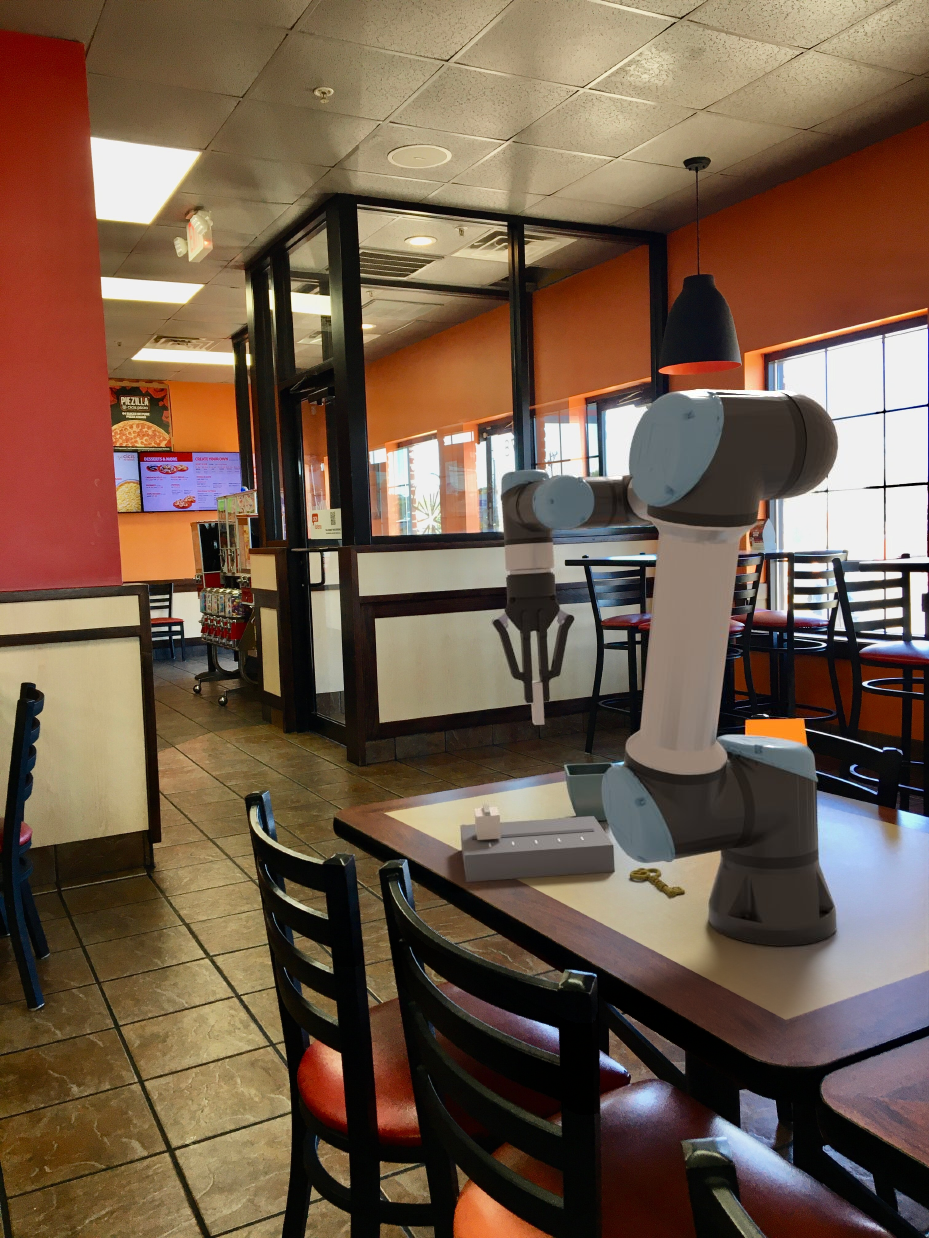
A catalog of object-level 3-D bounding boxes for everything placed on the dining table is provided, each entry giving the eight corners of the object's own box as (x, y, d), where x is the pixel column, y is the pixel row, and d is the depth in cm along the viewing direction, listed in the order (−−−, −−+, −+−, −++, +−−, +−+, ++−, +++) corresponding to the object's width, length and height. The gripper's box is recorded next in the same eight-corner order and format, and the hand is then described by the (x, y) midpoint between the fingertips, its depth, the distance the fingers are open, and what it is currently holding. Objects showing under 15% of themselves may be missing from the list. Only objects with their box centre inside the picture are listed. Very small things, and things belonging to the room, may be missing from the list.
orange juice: (813, 854, 144) (808, 723, 142) (752, 854, 145) (746, 724, 144) (805, 839, 151) (800, 714, 150) (747, 839, 153) (742, 715, 152)
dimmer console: (614, 871, 141) (613, 844, 141) (466, 881, 140) (464, 854, 140) (595, 839, 157) (593, 815, 157) (461, 849, 156) (460, 824, 156)
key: (687, 888, 130) (653, 892, 129) (688, 897, 130) (653, 901, 129) (654, 863, 142) (622, 867, 141) (654, 872, 142) (622, 876, 141)
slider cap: (500, 838, 146) (499, 811, 146) (477, 839, 146) (475, 812, 145) (498, 829, 151) (496, 802, 151) (475, 830, 151) (474, 804, 150)
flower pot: (621, 823, 166) (618, 772, 165) (570, 826, 166) (567, 775, 165) (614, 810, 175) (611, 761, 174) (566, 812, 175) (563, 764, 174)
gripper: (567, 569, 152) (575, 716, 153) (485, 574, 151) (494, 722, 152) (576, 569, 144) (584, 724, 146) (490, 574, 143) (499, 730, 145)
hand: (538, 723), depth 149 cm, fingers closed
